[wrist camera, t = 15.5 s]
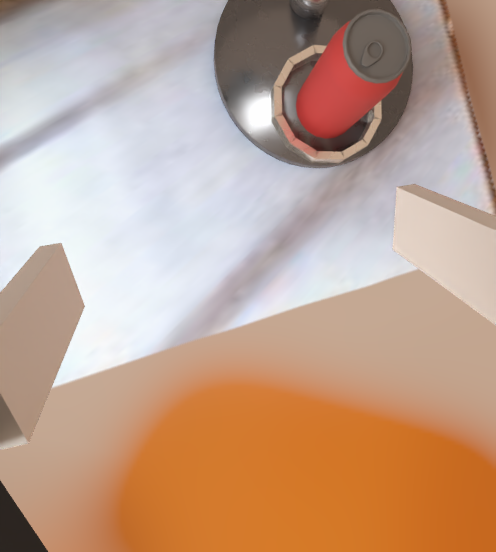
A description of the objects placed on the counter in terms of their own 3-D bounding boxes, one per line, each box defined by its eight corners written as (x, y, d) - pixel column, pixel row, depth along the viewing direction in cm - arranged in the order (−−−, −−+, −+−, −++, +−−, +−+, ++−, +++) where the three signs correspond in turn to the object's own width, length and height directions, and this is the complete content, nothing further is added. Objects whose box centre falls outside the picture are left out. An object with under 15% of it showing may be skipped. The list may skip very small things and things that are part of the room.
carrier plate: (176, 98, 40) (174, 73, 34) (275, -77, 41) (287, -127, 36) (351, 204, 43) (373, 196, 38) (438, 39, 44) (471, 8, 39)
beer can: (282, 113, 40) (320, 48, 28) (317, 65, 40) (370, -18, 29) (329, 153, 41) (386, 106, 29) (364, 106, 41) (434, 41, 30)
